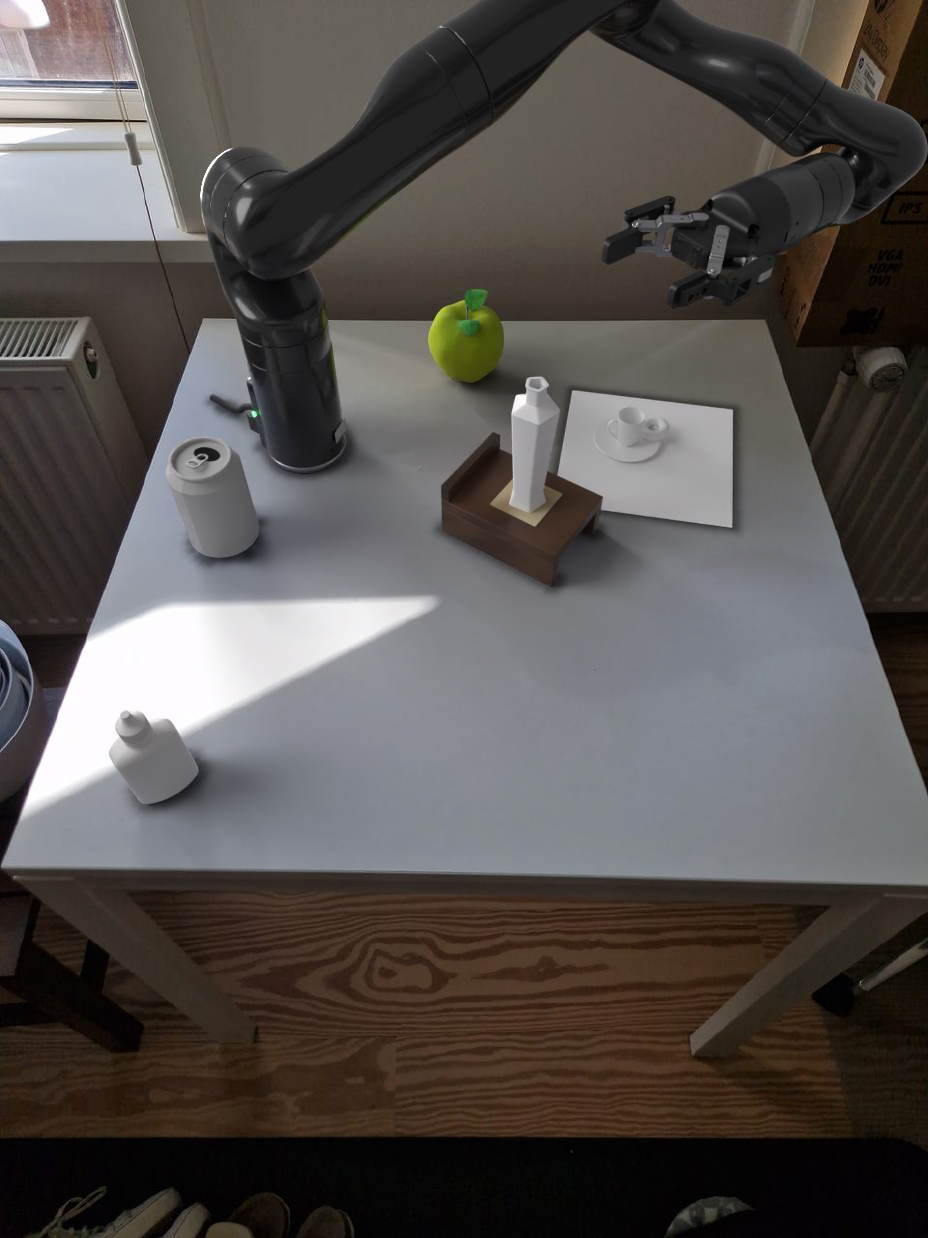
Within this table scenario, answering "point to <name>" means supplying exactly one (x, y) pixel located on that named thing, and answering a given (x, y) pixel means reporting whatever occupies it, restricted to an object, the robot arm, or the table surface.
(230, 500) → the can
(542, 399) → the white faceted vase
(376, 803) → the table surface
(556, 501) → the wooden display stand
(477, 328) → the fruit
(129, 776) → the eye dropper bottle
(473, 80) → the robot arm
